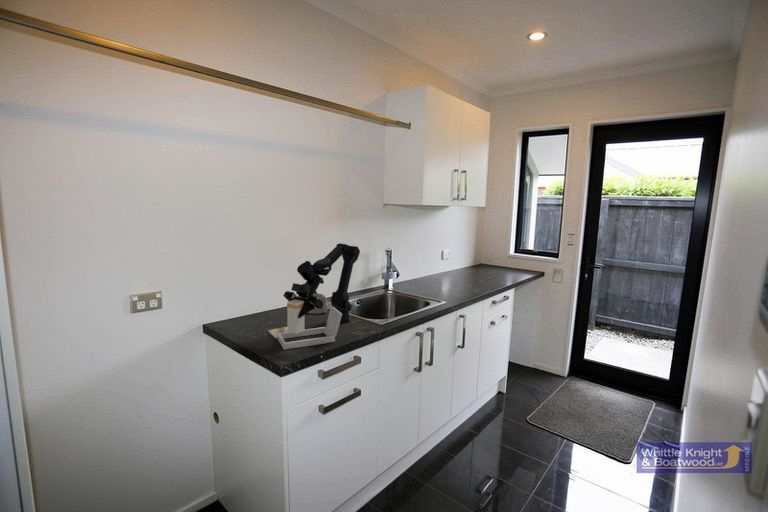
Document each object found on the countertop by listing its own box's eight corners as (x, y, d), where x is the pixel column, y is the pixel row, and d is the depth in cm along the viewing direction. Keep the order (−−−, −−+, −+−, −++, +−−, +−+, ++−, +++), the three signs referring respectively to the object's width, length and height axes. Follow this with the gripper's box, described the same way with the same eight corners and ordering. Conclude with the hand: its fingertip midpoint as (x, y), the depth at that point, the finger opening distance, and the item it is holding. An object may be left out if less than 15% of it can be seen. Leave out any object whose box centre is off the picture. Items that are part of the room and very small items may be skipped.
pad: (288, 327, 176) (288, 326, 176) (297, 333, 168) (297, 332, 168) (267, 331, 170) (267, 330, 170) (275, 338, 162) (275, 337, 162)
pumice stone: (299, 312, 200) (299, 294, 198) (306, 308, 207) (305, 291, 206) (325, 315, 196) (325, 297, 195) (331, 311, 204) (331, 293, 202)
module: (295, 328, 161) (295, 299, 159) (304, 330, 159) (304, 301, 157) (287, 331, 157) (287, 301, 155) (296, 333, 154) (296, 303, 152)
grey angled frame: (332, 330, 173) (332, 305, 171) (342, 340, 162) (342, 313, 160) (277, 338, 161) (277, 311, 160) (283, 349, 150) (283, 320, 148)
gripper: (286, 273, 162) (267, 303, 154) (319, 278, 153) (300, 310, 145) (298, 287, 170) (281, 316, 162) (330, 293, 161) (314, 324, 153)
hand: (293, 316), depth 155 cm, fingers closed on module, 5 cm apart
